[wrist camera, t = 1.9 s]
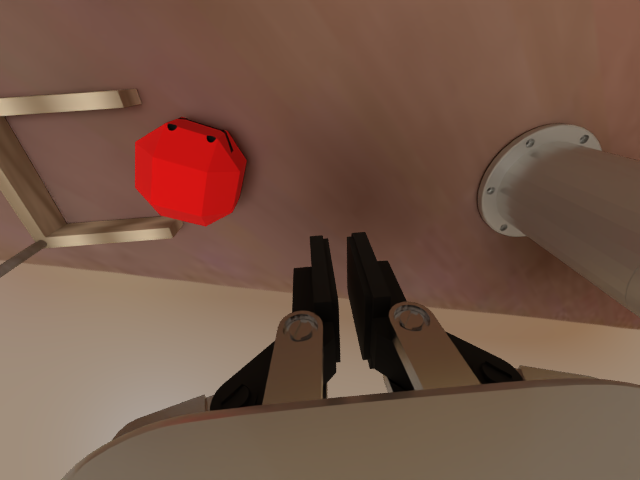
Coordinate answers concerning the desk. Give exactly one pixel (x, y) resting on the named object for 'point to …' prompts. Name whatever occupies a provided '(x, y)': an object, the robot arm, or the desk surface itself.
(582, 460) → the robot arm
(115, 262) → the desk surface
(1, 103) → the wooden u-shaped stand
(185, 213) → the ball
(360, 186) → the desk surface
